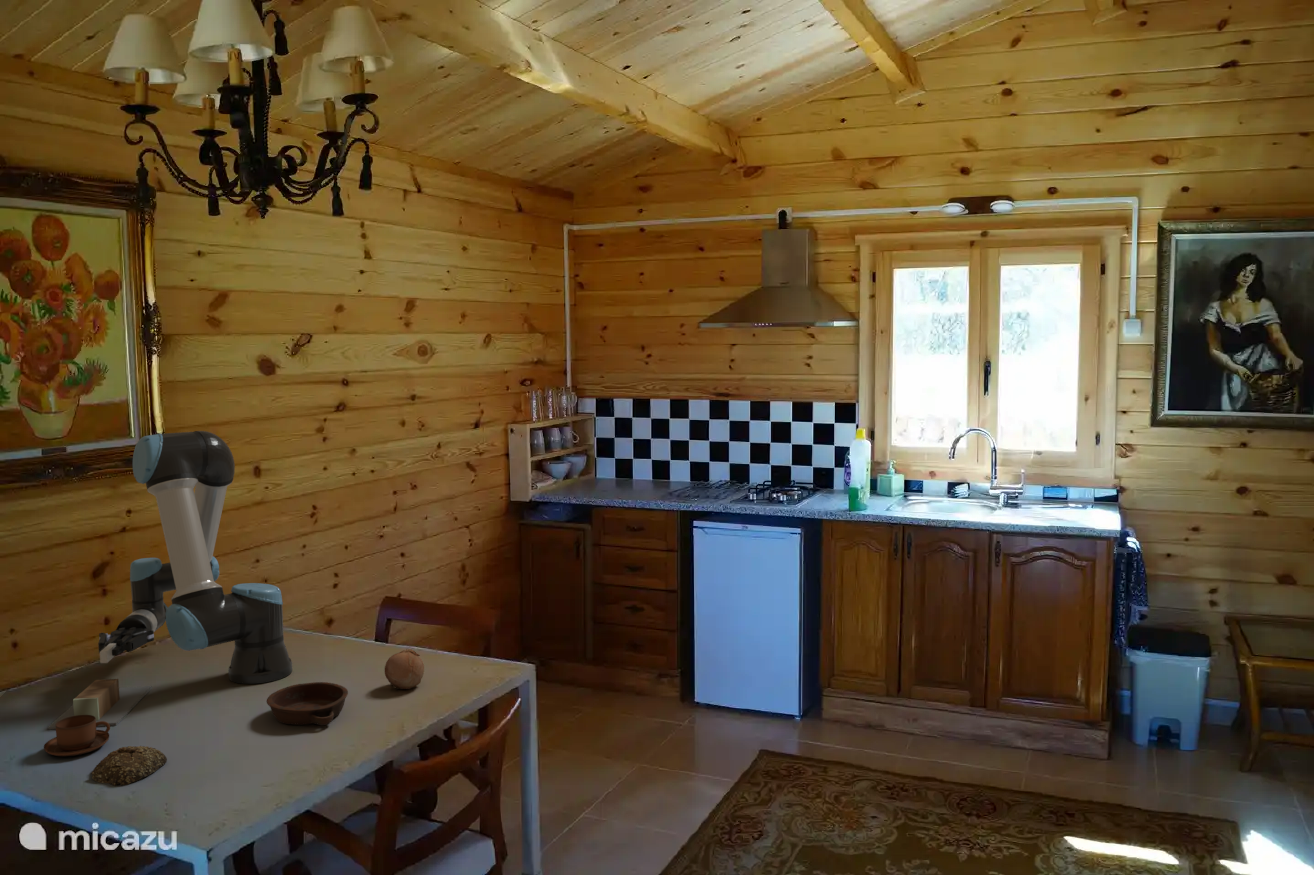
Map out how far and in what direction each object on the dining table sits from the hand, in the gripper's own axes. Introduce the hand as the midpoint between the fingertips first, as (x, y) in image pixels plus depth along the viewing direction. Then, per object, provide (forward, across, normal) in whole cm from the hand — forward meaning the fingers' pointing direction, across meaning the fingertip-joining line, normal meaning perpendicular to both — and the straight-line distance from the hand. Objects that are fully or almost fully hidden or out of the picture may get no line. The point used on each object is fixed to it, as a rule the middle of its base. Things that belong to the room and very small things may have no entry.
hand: (103, 657), depth 239 cm
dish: (+16, -48, -12) cm, 52 cm away
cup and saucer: (+27, -3, -12) cm, 30 cm away
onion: (+2, -69, -11) cm, 70 cm away
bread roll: (+41, -17, -12) cm, 46 cm away
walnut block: (-1, 0, -8) cm, 8 cm away
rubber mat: (+3, 0, -11) cm, 11 cm away
